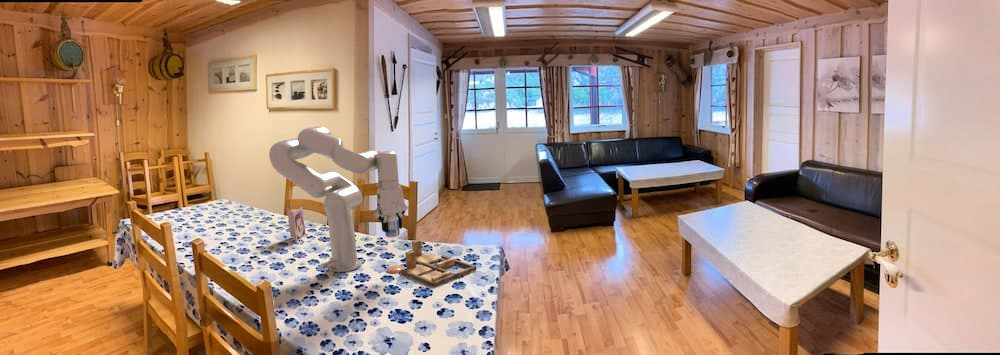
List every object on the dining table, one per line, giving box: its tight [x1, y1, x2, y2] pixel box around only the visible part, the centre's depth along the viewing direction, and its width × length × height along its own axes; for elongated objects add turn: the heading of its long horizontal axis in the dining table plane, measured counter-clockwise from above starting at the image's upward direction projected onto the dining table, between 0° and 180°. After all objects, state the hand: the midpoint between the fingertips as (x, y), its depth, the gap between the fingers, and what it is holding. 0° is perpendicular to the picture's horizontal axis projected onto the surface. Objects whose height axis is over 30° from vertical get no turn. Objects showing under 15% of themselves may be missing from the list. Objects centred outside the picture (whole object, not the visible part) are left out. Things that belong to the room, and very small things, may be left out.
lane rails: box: [400, 255, 477, 288], centre depth 189 cm, size 21×20×2 cm
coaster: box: [386, 265, 406, 274], centre depth 193 cm, size 7×7×1 cm
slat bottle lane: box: [411, 239, 456, 270], centre depth 200 cm, size 8×20×7 cm, turn 46°
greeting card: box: [286, 206, 306, 243], centre depth 235 cm, size 11×7×15 cm, turn 1°
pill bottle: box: [384, 213, 400, 238], centre depth 189 cm, size 6×5×10 cm
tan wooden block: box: [404, 249, 433, 276], centre depth 190 cm, size 8×9×7 cm
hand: (392, 229), depth 190 cm, fingers closed on pill bottle, 5 cm apart
